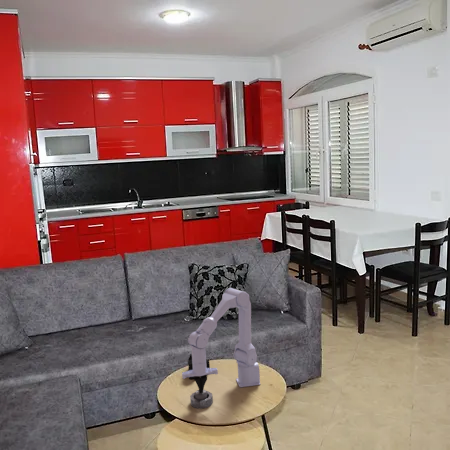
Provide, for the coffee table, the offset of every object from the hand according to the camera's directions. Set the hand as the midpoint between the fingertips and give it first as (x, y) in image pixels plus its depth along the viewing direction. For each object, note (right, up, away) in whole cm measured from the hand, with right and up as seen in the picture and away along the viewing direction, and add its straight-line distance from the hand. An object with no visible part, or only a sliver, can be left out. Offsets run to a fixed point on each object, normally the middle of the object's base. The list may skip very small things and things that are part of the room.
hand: (201, 392), depth 193 cm
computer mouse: (0, -4, +1) cm, 4 cm away
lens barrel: (0, -5, +1) cm, 5 cm away
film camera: (-2, -1, +28) cm, 28 cm away
